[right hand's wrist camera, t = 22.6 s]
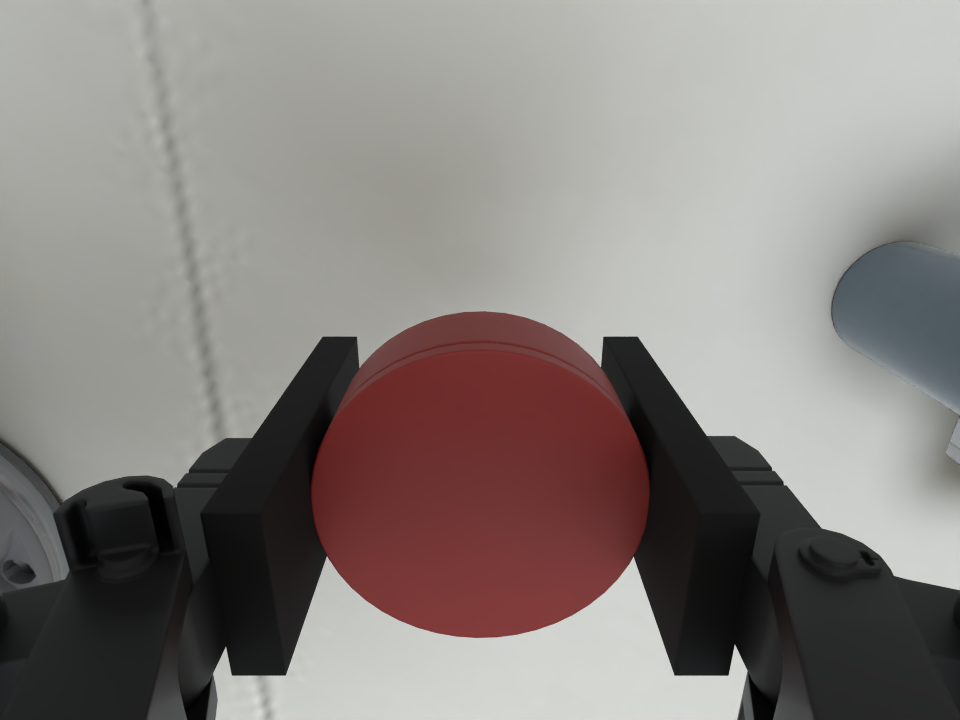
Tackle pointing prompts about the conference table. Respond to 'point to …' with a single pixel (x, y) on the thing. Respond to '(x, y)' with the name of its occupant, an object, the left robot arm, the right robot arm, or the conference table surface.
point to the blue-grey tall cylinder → (906, 315)
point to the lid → (480, 478)
